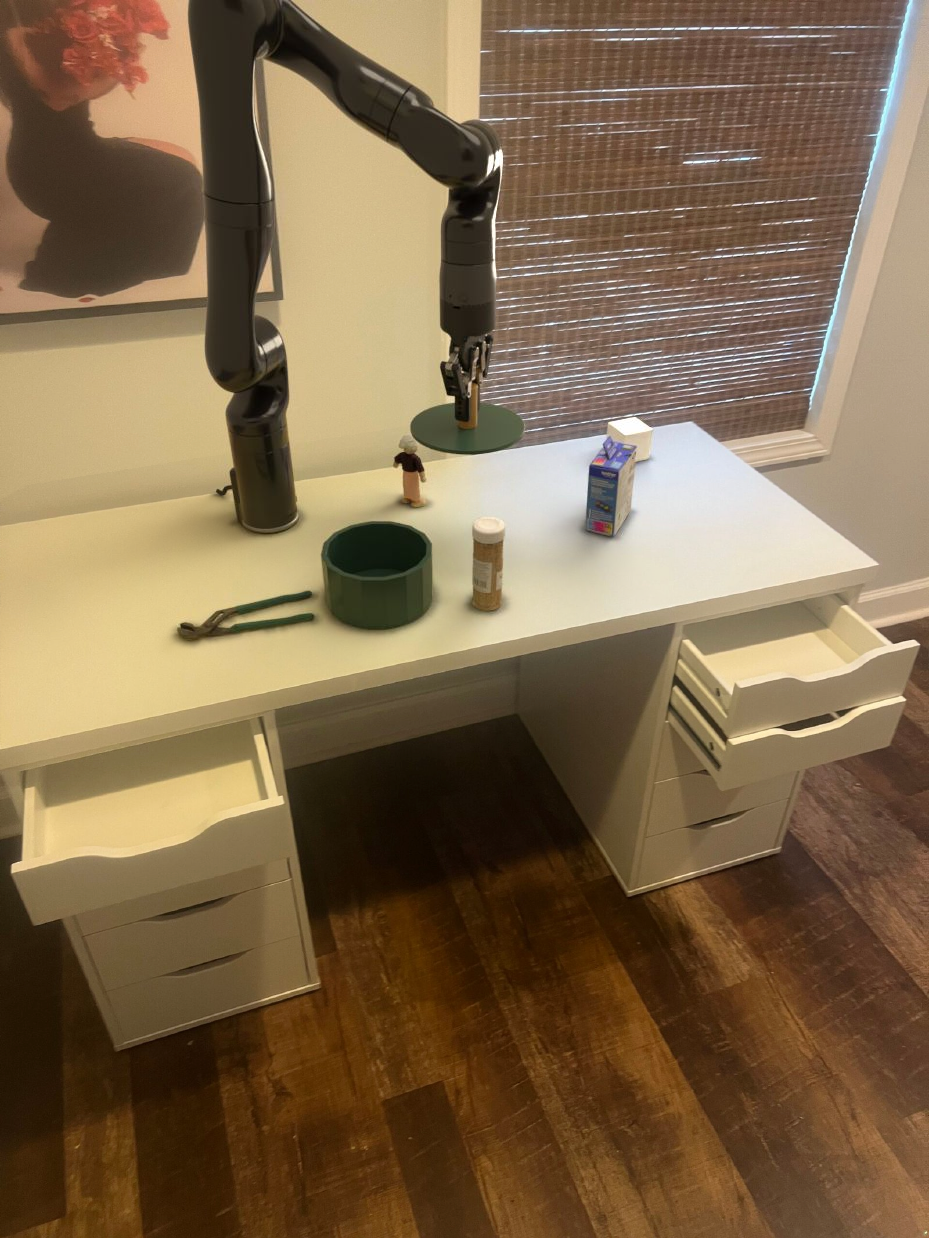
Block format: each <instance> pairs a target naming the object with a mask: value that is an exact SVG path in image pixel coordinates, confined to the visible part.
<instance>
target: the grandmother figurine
mask: <svg viewBox="0 0 929 1238" xmlns="http://www.w3.org/2000/svg"><path fill="white" fill-rule="evenodd" d="M398 448H400V450H403V451H400V452H399V453H398V454H396V455H395V456H394V457H393V459H394V460H393V463H392V467H393V468H394V469H399V467H400V465H401V469H402V489H403V498H402V499H401V503H403V504H409V503H410V506H411V507H412V508H421V507H425V506H426V505H427V502H426V501H427V500H425V499H424V498H423V497H421V495H422V494H421V487H420V482H421V483H423V484H424V483H426V482H427V477H426V472H425V468H424V464H423V462H422V460H421V458H420V457H419V456H418V455H417V454H416V453H417V451H418V449H419V443H418V442H417V441H416V440H415V439H414V438H413V436H412V435H411V432H408V433H406V434H404V435H403V436H402V437H401V439H400V440H399V443H398Z"/></svg>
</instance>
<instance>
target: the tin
mask: <svg viewBox="0 0 929 1238" xmlns="http://www.w3.org/2000/svg"><path fill="white" fill-rule="evenodd" d="M320 559H321V569H322V579H323V586H324V587H323V588H324V589H323V590H324V597H325V602H326V606H327V608H328V610H329V612H330V614H331V615H332V616H333V617H334V618H335V619H337V620H338V621H339V622H341V623H343V624H345V625H347V626H350V627H353V628H358V629H363V630H370V631H371V630H374V631H378V630H379V631H380V630H391V629H396V628H400V627H404V626H406V625H409V624H411V623H413V622H415V621H417V620H418V619H420V618H422V617H423V616H424V615H425V614H426V613H427V612H428V611H429V609H430V607H431V606H432V603H433V598H434V573H433V570H434V569H433V567H434V566H433V543H432V541H431V540H430V539H429V537H428V535H426V533H425V532H423V531H421V530H420V529H418V528H415V527H414V526H412V525H410V524H405V523H401V522H397V521H392V520H370V521H365V522H358V523H353V524H350V525H348V526H345V527H344V528H341V529H339V530H337V531H335V532H333V533H332V534H331V535H330V536H329V537H328V538H327V539H326V540H325V541H324V542H323V544H322V549H321V553H320Z"/></svg>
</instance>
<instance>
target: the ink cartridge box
mask: <svg viewBox="0 0 929 1238" xmlns="http://www.w3.org/2000/svg"><path fill="white" fill-rule="evenodd" d="M636 454H637V446H635V445H629V444H624V443H619V442H614V441H613V440H612V438H611V436H609V437H608V438H607V439H606V438H605V440H604V441H603V443H602V447H601V450H599V452H598V453H597V455H595V457H594V458H593V460H592V461H591V462H590V464H589V465H588V477H587V478H588V479H587V491H586V493H587V494H586V507H585V509H586V510H585V525H584V526H585V527H584V530H585V531H588V532H592V533H595V534H600V535H604V536H607V537H612V538H613V537H615V536H616V534H617V533H618V531H619V530H620V528H621V526H622V525H623V524H624V522H625V520H626V519H627V517H628V515H629V514H630V512H631V511H632V501H633V492H634V483H635V482H634V481H635V473H636V463H637V462H636Z"/></svg>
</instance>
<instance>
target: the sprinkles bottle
mask: <svg viewBox="0 0 929 1238" xmlns="http://www.w3.org/2000/svg"><path fill="white" fill-rule="evenodd" d="M471 529H472V530H471V531H472V532H471V535H472V536H471V537H472V541H473V542H472V543H473V544H472V546H473V547H472V575H471V576H472V579H471V582H472V597H471V604H472V606H474V607H475V608H477V609H479V610H481V611H486V612H488V611H494V610H497V609H498V608H500V607H501V606H502V604H503V595H502V594H503V582H504V581H503V578H504V577H503V575H504V540H505V537H506V524H505V523H504V520H503V521H502V520H501V519H500V518H497V517H494V516H485V517H483V516H482V517H480V518H478V519H476V520H475V521H474V522H472V528H471Z"/></svg>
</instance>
